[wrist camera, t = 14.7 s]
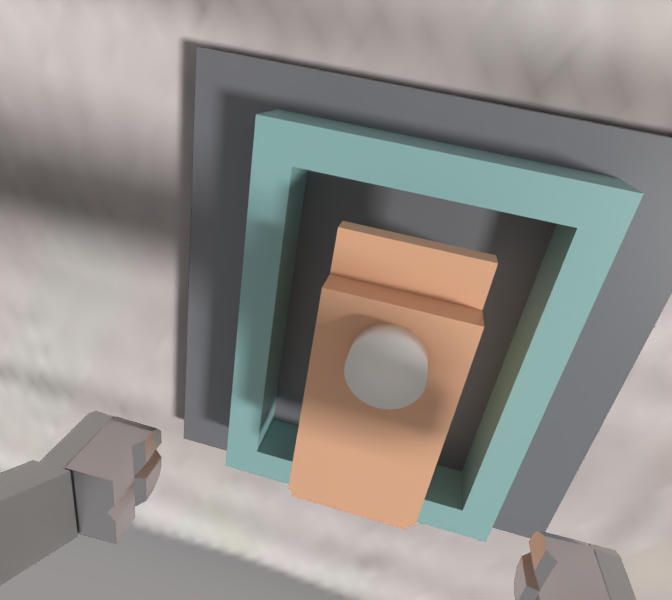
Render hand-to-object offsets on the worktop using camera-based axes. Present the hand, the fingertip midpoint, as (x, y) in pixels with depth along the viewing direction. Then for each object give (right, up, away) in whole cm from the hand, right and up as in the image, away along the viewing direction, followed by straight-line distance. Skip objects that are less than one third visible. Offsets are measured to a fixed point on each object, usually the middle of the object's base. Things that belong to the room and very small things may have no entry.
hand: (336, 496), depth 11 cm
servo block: (+2, +3, +7) cm, 8 cm away
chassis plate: (+2, +4, +8) cm, 9 cm away
